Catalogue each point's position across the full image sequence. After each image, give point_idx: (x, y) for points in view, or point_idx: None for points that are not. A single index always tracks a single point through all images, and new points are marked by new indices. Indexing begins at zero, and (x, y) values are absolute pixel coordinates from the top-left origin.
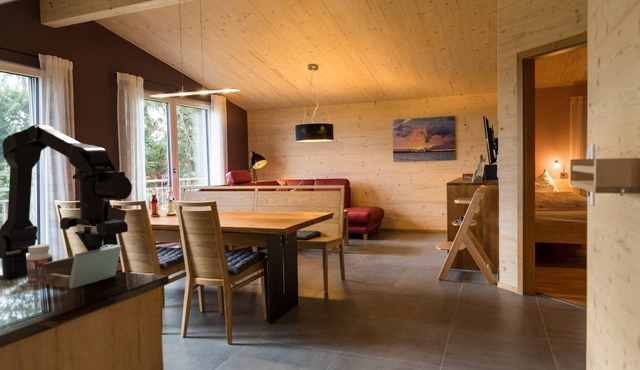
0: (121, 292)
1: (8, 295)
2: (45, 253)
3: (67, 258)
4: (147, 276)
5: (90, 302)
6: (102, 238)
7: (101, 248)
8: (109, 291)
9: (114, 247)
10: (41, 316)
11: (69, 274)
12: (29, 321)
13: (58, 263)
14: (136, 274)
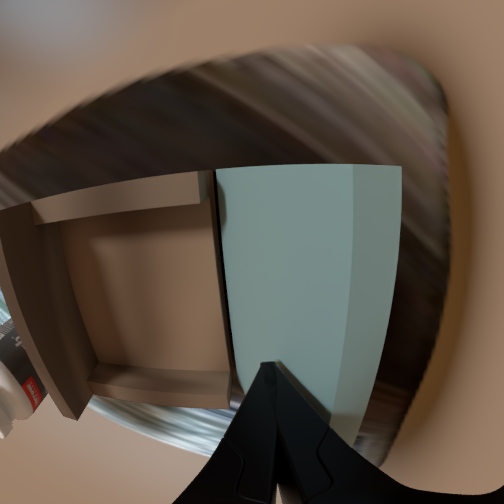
0: (438, 289)
1: (121, 421)
2: (5, 398)
3: (23, 332)
4: (361, 72)
5: (409, 379)
6: (384, 490)
7: (335, 403)
8: (392, 303)
9: (388, 268)
10: (366, 448)
11: (72, 296)
12: (366, 459)
13: (57, 371)
14: (270, 62)
